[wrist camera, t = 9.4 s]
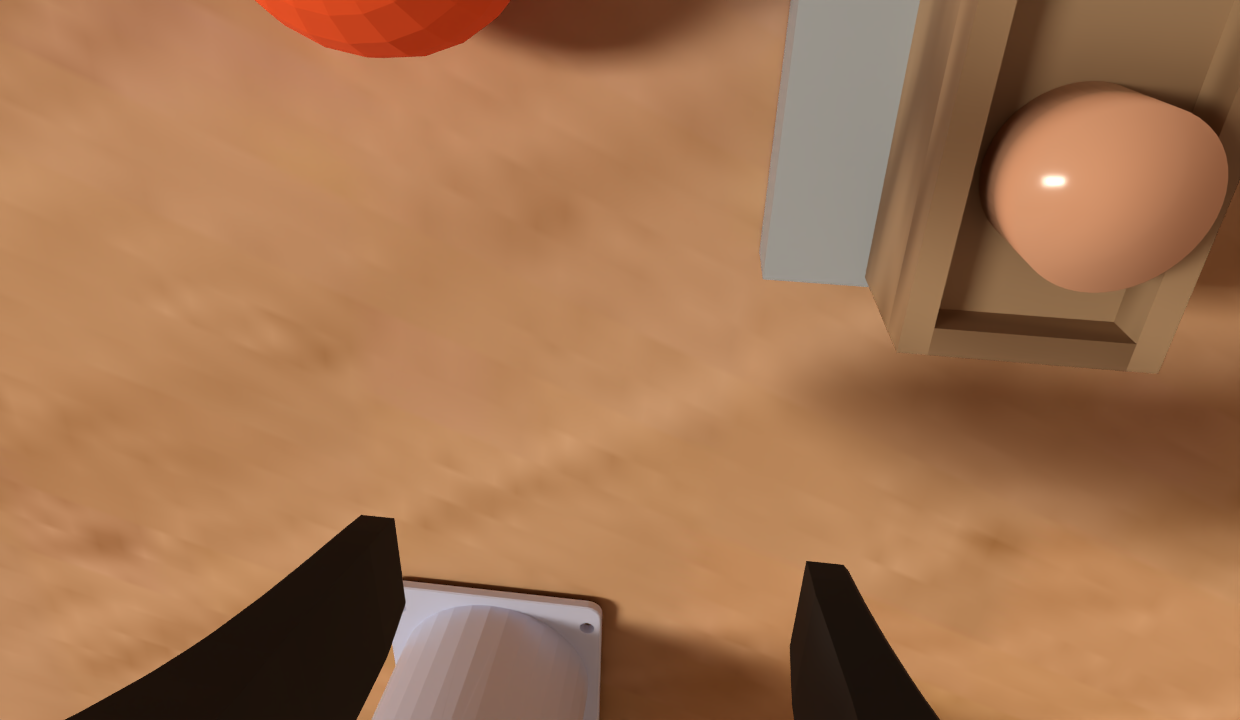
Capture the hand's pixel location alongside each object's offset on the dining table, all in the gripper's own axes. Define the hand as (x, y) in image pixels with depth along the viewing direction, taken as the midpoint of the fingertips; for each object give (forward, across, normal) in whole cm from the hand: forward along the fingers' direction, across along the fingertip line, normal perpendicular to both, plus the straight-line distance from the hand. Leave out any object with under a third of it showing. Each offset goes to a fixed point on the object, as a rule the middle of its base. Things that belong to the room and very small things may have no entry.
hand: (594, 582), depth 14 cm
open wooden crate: (+8, -8, -6) cm, 13 cm away
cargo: (+5, -8, -6) cm, 12 cm away
